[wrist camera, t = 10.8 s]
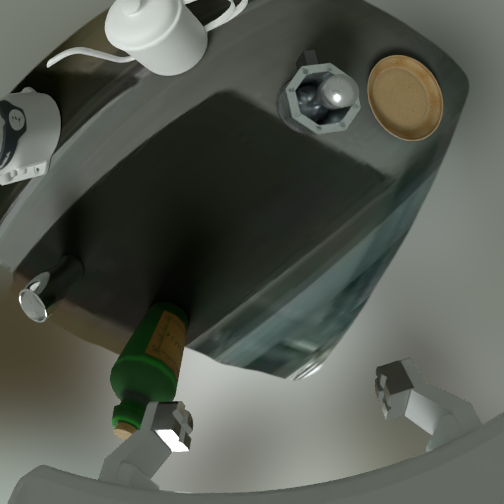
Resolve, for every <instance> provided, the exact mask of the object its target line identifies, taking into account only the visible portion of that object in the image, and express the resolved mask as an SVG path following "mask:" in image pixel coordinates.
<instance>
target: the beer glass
mask: <svg viewBox="0 0 504 504" xmlns="http://www.w3.org/2000/svg"><path fill="white" fill-rule="evenodd" d="M83 275H84V268H83V265H82V263H81V261H80V260H79V259H78V258H77V257H76V256H74V255H72V254H66V255H64V256H63V257H62V258H61V259H60V261H59V262H58V263H57V264H56V265H55V266H53V267H51V268H49V269H47V270H45V271H43V272H42V273H40V274H38V275H37V276H36V277H34V278H33V279H32V280H31V281H30V282H29V283H28V284H27V285H26V286H25V287H24V289H23V290H22V291H21V292H20V294H19V302H20V305H21V307H22V309H23V311H24V312H25V313H26V315H27V316H28V317H29V318H31V319H32V320H34V321H36V322H44V321H45V320H46V319H47V318H48V317H49V316H50V315H51V314H52V313H53V312H54V311H55V310H56V309H57V308H58V307H59V305H60V304H61V303H62V301H63V300H64V298H65V296H66V294H67V293H68V291H69V289H70V288H71V286H72V285H73V284H74V283H76V282H78V281H79V280H81V279H82V277H83Z"/></svg>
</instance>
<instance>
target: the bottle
mask: <svg viewBox="0 0 504 504" xmlns="http://www.w3.org/2000/svg"><path fill="white" fill-rule="evenodd" d="M188 326H189V322H188V318H187V314H186V313H185V312H184V311H183V310H182V309H181V308H180V307H179V306H177V305H175V304H173V303H170V302H157V303H155V304H154V305H152V306H151V307H150V308H149V309H148V311H147V312H146V314H145V315H144V317H143V319H142V320H141V322H140V323H139V325H138V327H137V328H136V330H135V331H134V333H133V335H132V336H131V338H130V340H129V341H128V343H127V344H126V346H125V348H124V349H123V351H122V353H121V354H120V356H119V358H118V360H117V361H116V363H115V364H114V366H113V368H112V370H111V375H110V382H111V386H112V389H113V390H114V392H115V394H116V396H117V397H118V398H119V399H120V400H121V403H120V405H117V406H114V411H113V418H112V425H113V426H114V427H115V429H114V433H115V435H116V436H118V437H119V438H121V439H123V440H127V439H128V438H129V437H130V436H131V435H132V434H133V433H134V432H135V431H136V430H140V427H141V424H142V421H143V417H144V414H145V411H146V408H147V405H148V403H149V402H172V401H173V399H174V397H175V394H176V388H177V382H178V378H179V372H180V367H181V361H182V356H183V350H184V346H185V340H186V335H187V330H188Z"/></svg>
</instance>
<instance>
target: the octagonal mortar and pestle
mask: <svg viewBox="0 0 504 504" xmlns="http://www.w3.org/2000/svg"><path fill="white" fill-rule="evenodd" d="M296 66H297V69H298V72H297V73H296V74H295V76H294V77H293V78H292V79H291V81H289V82H288V83H286V84H285V85H284V86H283V88H282V89H281V91H280V92H279V95H278V98H277V111H278V114H279V116H280V118H281V120H282V121H283V122H284V124H285V125H286V126H288V127H289V128H290V129H292V130H294V131H296V132H299V133H303V134H323V133H329V132H336V131H343V130H346V129H347V128H348V126H349V125H350V123H351V122H352V120H353V119H354V117H355V116H356V114H357V113H358V111H359V110H360V108H361V107H360V102H359V97H358V99H357V101H356V102H355V103H354V104H353V105H351V106H347V107H343V108H338V109H328V112H327V114H326V115H325V116H324V117H323V118H322V119H320V120H318V121H314V122H313V121H312V120H310V119H309V118H307V117H306V116H304V115H303V114H301V113H300V110H299V105H298V101H297V97H296V93H295V92H296V91H297V90H299V89H300V88H302V87H305V86H314V87H317V88H318V87H319V86H320V84H321V83H323V82H324V81H326V80H328V79H329V78H331V77H332V76H334V75H337V74H344V75H347V74H345V73H344V72H342V71H341V70H340V69H338V68H337V67H335V66H334V65H332V64H331V63H326V64H318V60H317V56H316V53H315V50H308V51H303V53H302V54H301V56H300V57H299V59H298V60H297V62H296ZM347 76H348V75H347ZM354 81H355V80H354Z"/></svg>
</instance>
